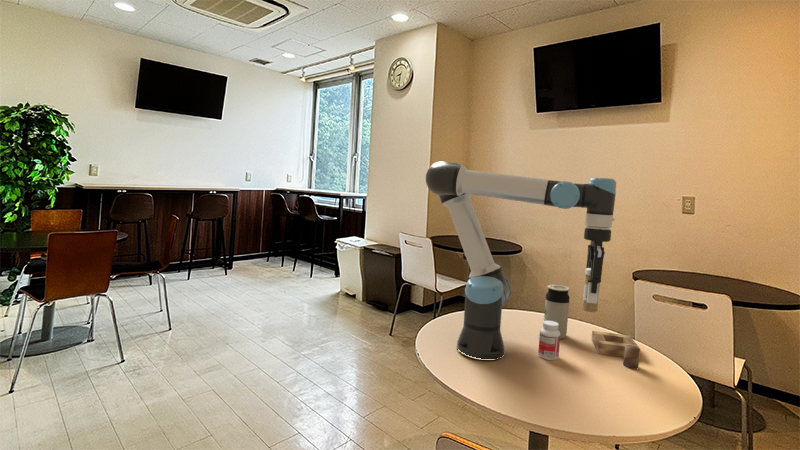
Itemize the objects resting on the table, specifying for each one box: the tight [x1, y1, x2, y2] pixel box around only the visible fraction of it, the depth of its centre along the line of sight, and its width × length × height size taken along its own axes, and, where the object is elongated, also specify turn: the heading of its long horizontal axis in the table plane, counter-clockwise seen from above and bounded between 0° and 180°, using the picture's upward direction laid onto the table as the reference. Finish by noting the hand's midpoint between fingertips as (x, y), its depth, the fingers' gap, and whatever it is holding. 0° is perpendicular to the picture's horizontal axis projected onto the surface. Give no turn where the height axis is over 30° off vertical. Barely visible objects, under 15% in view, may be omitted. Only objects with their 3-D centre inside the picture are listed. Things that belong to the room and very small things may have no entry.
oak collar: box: [591, 330, 639, 358], centre depth 136 cm, size 12×12×4 cm
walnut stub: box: [622, 345, 641, 370], centre depth 123 cm, size 4×4×6 cm
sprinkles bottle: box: [581, 267, 601, 313], centre depth 127 cm, size 5×5×14 cm
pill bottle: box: [537, 320, 561, 361], centre depth 127 cm, size 6×6×11 cm
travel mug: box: [543, 284, 571, 340], centre depth 146 cm, size 8×8×18 cm
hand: (590, 300), depth 127 cm, fingers closed on sprinkles bottle, 4 cm apart
